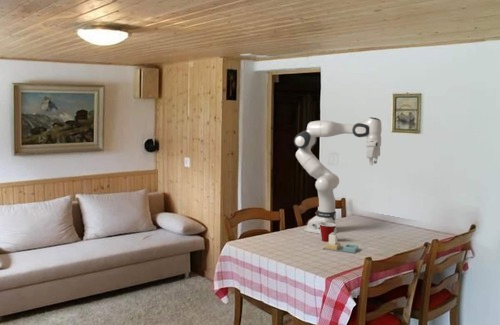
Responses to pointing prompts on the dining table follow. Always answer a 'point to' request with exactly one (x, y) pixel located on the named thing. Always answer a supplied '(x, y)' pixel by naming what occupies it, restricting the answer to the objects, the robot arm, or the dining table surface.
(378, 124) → the robot arm
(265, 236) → the dining table surface
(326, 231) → the plastic cup
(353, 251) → the panel
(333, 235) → the plug
